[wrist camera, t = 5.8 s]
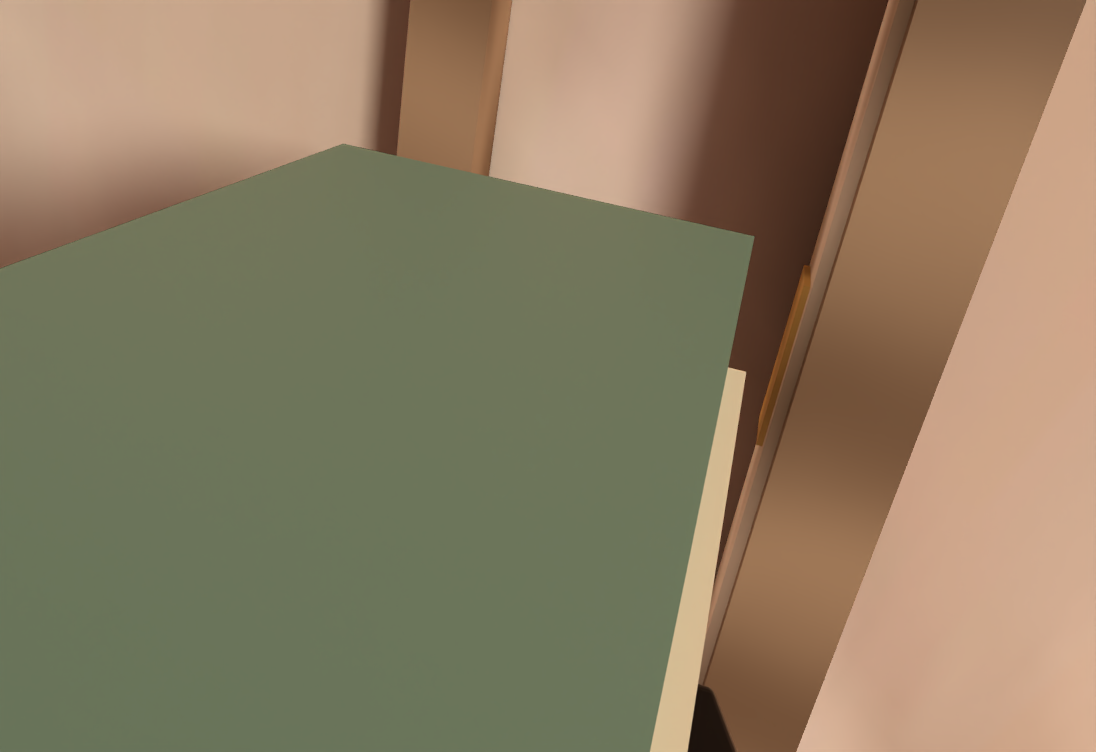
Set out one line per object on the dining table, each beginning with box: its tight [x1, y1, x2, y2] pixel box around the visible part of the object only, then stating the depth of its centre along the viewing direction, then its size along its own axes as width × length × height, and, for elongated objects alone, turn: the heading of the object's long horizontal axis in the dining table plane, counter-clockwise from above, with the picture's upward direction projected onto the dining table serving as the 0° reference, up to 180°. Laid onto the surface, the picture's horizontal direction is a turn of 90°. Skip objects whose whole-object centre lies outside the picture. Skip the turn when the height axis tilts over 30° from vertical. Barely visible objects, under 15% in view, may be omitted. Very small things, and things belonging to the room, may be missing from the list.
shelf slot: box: [397, 0, 1086, 752], centre depth 17 cm, size 24×10×4 cm, turn 170°
